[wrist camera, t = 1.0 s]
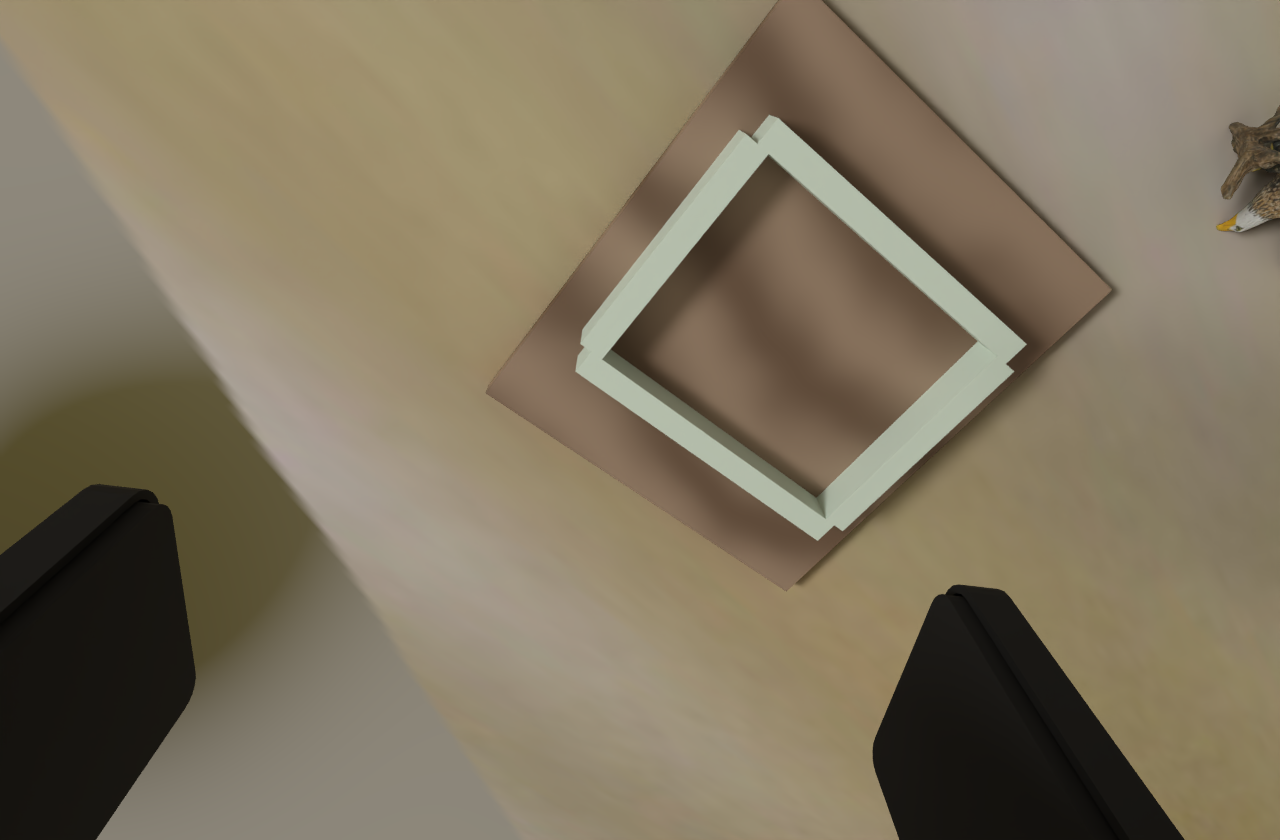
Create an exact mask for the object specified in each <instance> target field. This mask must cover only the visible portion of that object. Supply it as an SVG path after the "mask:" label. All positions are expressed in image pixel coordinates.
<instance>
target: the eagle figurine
mask: <svg viewBox="0 0 1280 840" xmlns="http://www.w3.org/2000/svg"><path fill="white" fill-rule="evenodd" d="M1279 122H1280V106H1279V107H1278V108H1277V111H1276V113H1275V115H1274V116H1273V117H1272V118H1270V119H1269V120H1267V121H1266V122H1265V123H1264V124H1263V125H1261V126H1260V127H1258V128H1256V127H1248V126H1245V125H1243V124H1242V123H1239V122H1235V123H1232V124H1230V126H1229V129H1230V131H1231V133H1232V135H1233V140H1232V146H1233V150H1234V151H1235V152H1236V153H1237V154H1238V158H1239V159H1238V160H1237V162H1236V164H1235V165H1234V167H1233V169H1232V171H1231V172H1230V174H1229V176H1228V177H1227V179H1226V181H1225V183H1224V184H1223V185H1222V187H1221V192H1222V196H1223V198H1224V199H1231V198H1232V196H1233V194H1234V192H1235V191H1236V190H1237V188H1238V187H1239V185H1240V184H1241V182H1242V180H1243V177H1244V176H1245V174H1247V173H1249V172H1254V171H1257V170H1260V169H1261V168H1262V169H1264V170H1266V171H1267V172H1277V176H1276V177H1274V178H1273V179H1272V181H1270V182H1269V183H1268V184H1267V185H1266V186H1264V188H1263V189H1262V190H1261V191H1260V192H1259V193H1258V194H1257V195H1256V196H1255V198H1254V199H1253V200H1252V201H1251V202H1250V203H1249V204H1248V205H1247V206H1246V207H1245V208H1244V209H1243V210H1241V211H1240V212H1239V213H1237V214H1236V215H1235V216H1234V217H1233V218H1231V219H1230V220H1228V221H1226V222H1224V223H1222V224H1219V225H1217V226H1216V228H1217V230H1220V231H1229V230H1233V231H1235V232H1242V231H1246V230H1248V229H1251V228H1253V227H1255V226H1257V225H1259V224H1262V223H1264V222H1266V221H1268V220H1272V219H1274V218H1280V128H1276V126H1277V125H1278V123H1279Z"/></svg>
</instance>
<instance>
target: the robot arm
mask: <svg viewBox="0 0 1280 840" xmlns="http://www.w3.org/2000/svg"><path fill="white" fill-rule="evenodd" d="M195 675H196V674H195V666H194V659H193V652H192V646H191V639H190V632H189V626H188V620H187V612H186V605H185V599H184V592H183V585H182V579H181V572H180V566H179V559H178V552H177V545H176V538H175V533H174V525H173V519H172V514H171V511H170V509H169V508H168V506H166V505H163V504H159V503H158V499H157V497H156V496H155V495H154V493H153V492H151V491H149V490H144V489H135V488H127V487H118V486H109V485H101V484H97V485H90V486H89V487H87V488H85V489H84V490H82V491H81V492H79V494H77V495H76V496H74V497H73V498H72V499H71V500H69V501H68V502H67V503H66V504H64V505H63V506H62V507H60V508H59V509H58V510H57V511H55V512H54V513H53V514H52V515H50V516H49V517H48V518H47V519H45V520H44V521H43V522H42V523H40V524H39V525H38V526H36V527H35V528H34V529H33V530H31V531H30V532H29V533H28V534H26V535H25V536H24V537H23V538H21V539H20V540H19V541H18V542H16V543H15V544H14V545H12V546H11V547H10V548H9V549H7V550H6V551H5V552H4V553H2V554H1V555H0V840H96V839H97V837H98V836H99V834H100V833H101V831H102V830H103V828H104V827H105V825H106V824H107V822H108V821H109V819H110V818H111V817H112V815H113V814H114V812H115V811H116V809H117V808H118V806H119V805H120V803H121V802H122V800H123V799H124V797H125V796H126V795H127V793H128V792H129V790H130V789H131V787H132V785H133V784H134V783H135V781H136V780H137V778H138V777H139V775H140V774H141V772H142V771H143V770H144V768H145V767H146V765H147V764H148V762H149V760H150V759H151V758H152V756H153V755H154V753H155V752H156V750H157V749H158V747H159V746H160V744H161V743H162V742H163V740H164V738H165V737H166V736H167V734H168V733H169V731H170V730H171V728H172V727H173V725H174V724H175V722H176V721H177V720H178V718H179V717H180V715H181V713H182V712H183V711H184V709H185V708H186V706H187V704H188V702H189V700H190V698H191V696H192V693H193V690H194V686H195V679H196V676H195ZM873 764H874V768H875V772H876V775H877V778H878V780H879V783H880V786H881V789H882V792H883V795H884V797H885V800H886V803H887V806H888V809H889V812H890V814H891V817H892V820H893V823H894V826H895V829H896V831H897V834H898V837H899V840H1184V838H1183V837H1182V835H1181V834H1180V833H1179V831H1178V830H1177V829H1176V827H1175V826H1174V824H1173V823H1172V822H1171V820H1170V819H1169V817H1168V816H1167V815H1166V813H1165V812H1164V810H1163V809H1162V808H1161V806H1160V805H1159V804H1158V802H1157V801H1156V799H1155V798H1154V797H1153V795H1152V794H1151V792H1150V791H1149V790H1148V788H1147V787H1146V785H1145V784H1144V783H1143V781H1142V780H1141V779H1140V777H1139V776H1138V774H1137V773H1136V772H1135V770H1134V769H1133V767H1132V766H1131V765H1130V763H1129V762H1128V761H1127V759H1126V758H1125V756H1124V755H1123V754H1122V752H1121V751H1120V749H1119V748H1118V747H1117V745H1116V744H1115V742H1114V741H1113V740H1112V738H1111V737H1110V736H1109V734H1108V733H1107V731H1106V730H1105V729H1104V727H1103V726H1102V724H1101V723H1100V722H1099V720H1098V719H1097V717H1096V716H1095V715H1094V713H1093V712H1092V711H1091V709H1090V708H1089V706H1088V705H1087V704H1086V702H1085V701H1084V699H1083V698H1082V697H1081V695H1080V694H1079V692H1078V691H1077V690H1076V688H1075V687H1074V686H1073V684H1072V683H1071V681H1070V680H1069V679H1068V677H1067V676H1066V674H1065V673H1064V672H1063V670H1062V669H1061V667H1060V666H1059V665H1058V663H1057V662H1056V661H1055V659H1054V658H1053V656H1052V655H1051V654H1050V652H1049V651H1048V649H1047V648H1046V647H1045V645H1044V644H1043V643H1042V641H1041V640H1040V638H1039V637H1038V636H1037V634H1036V633H1035V631H1034V630H1033V629H1032V627H1031V626H1030V624H1029V623H1028V622H1027V620H1026V619H1025V618H1024V616H1023V615H1022V613H1021V612H1020V611H1019V609H1018V608H1017V606H1016V605H1015V604H1014V602H1013V601H1012V599H1011V598H1010V597H1009V596H1008V595H1007V594H1006V593H1005V592H1004V591H1002V590H999V589H993V588H984V587H976V586H967V585H953V586H952V587H951V588H950V589H948V591H947V592H946V594H941V595H938V596H937V597H935V599H934V600H933V602H932V604H931V606H930V609H929V611H928V613H927V616H926V618H925V621H924V623H923V625H922V628H921V630H920V632H919V635H918V637H917V640H916V642H915V644H914V647H913V649H912V651H911V654H910V656H909V659H908V661H907V663H906V666H905V668H904V670H903V673H902V675H901V678H900V680H899V682H898V685H897V687H896V689H895V692H894V694H893V697H892V699H891V701H890V704H889V706H888V708H887V711H886V713H885V716H884V718H883V720H882V723H881V725H880V727H879V730H878V732H877V735H876V737H875V740H874V743H873Z"/></svg>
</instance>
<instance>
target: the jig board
mask: <svg viewBox="0 0 1280 840" xmlns="http://www.w3.org/2000/svg"><path fill="white" fill-rule="evenodd" d="M1110 291H1112V289H1111V288H1110V287H1109V286H1108V285H1107V284H1106V283H1105V282H1104V281H1103V280H1102V279H1101V278H1100V277H1099V276H1098V275H1097V274H1096V273H1095V272H1094V271H1093V270H1092V269H1091V268H1090V267H1089V266H1088V265H1087V264H1086V263H1085V262H1084V261H1083V260H1082V259H1081V258H1080V257H1079V256H1078V255H1077V254H1076V253H1075V252H1074V251H1073V250H1072V249H1071V248H1070V247H1069V246H1068V245H1067V244H1066V243H1065V242H1064V241H1063V240H1062V239H1061V238H1060V237H1059V236H1058V235H1057V234H1056V233H1055V232H1054V231H1053V230H1052V229H1051V228H1050V227H1049V226H1048V225H1047V224H1046V223H1045V222H1044V221H1043V220H1042V219H1041V218H1040V217H1039V216H1038V215H1037V214H1036V213H1035V212H1034V211H1033V210H1032V209H1031V208H1030V207H1029V206H1028V205H1027V204H1026V203H1025V202H1024V201H1023V200H1022V199H1021V198H1020V197H1019V196H1018V195H1017V194H1016V193H1015V192H1014V191H1013V190H1012V189H1011V188H1010V187H1008V186H1007V185H1006V184H1005V183H1004V182H1003V181H1002V180H1001V179H1000V178H999V177H998V176H997V175H996V174H995V173H994V172H993V171H992V170H991V169H990V168H989V167H988V166H987V165H986V164H985V163H984V162H983V161H982V160H981V159H980V158H979V157H978V156H977V155H976V154H975V153H974V152H973V151H972V150H971V149H970V148H969V147H968V146H967V145H966V144H965V143H964V142H963V141H962V140H961V139H960V138H959V137H958V136H957V135H956V134H955V133H954V132H953V131H952V130H951V129H950V128H949V127H948V126H947V125H946V124H945V123H944V122H943V121H942V120H941V119H940V118H939V117H938V116H937V115H936V114H935V113H934V112H933V111H932V110H931V109H930V108H929V107H928V106H927V105H926V104H925V103H924V102H923V101H922V100H921V99H920V98H919V97H918V96H917V95H916V94H915V93H914V92H913V91H912V90H911V89H910V88H909V87H908V86H907V85H906V84H905V83H904V82H903V81H902V80H901V79H900V78H899V77H898V76H897V75H896V74H895V73H894V72H893V71H892V70H891V69H890V68H889V67H888V66H887V65H886V64H885V63H884V62H883V61H882V60H881V59H880V58H879V57H878V56H877V55H876V54H875V53H874V52H873V51H872V50H871V49H870V48H869V47H868V46H867V45H866V44H865V43H864V42H863V41H862V40H861V39H860V38H859V37H858V36H857V35H856V34H855V33H854V32H853V31H852V30H851V29H850V28H849V27H848V26H847V25H846V24H845V23H844V22H843V21H842V20H841V19H840V18H839V17H838V16H837V15H836V14H835V13H834V12H833V11H832V10H831V9H830V8H829V7H828V6H827V5H826V4H825V3H824V2H823V1H822V0H778V1H777V3H776V4H775V5H774V7H773V8H772V9H771V11H770V12H769V13H768V15H767V16H766V17H765V19H764V20H763V21H762V23H761V24H760V25H759V27H758V28H757V29H756V31H755V32H754V33H753V35H752V36H751V37H750V39H749V40H748V41H747V43H746V44H745V45H744V47H743V48H742V49H741V51H740V52H739V53H738V55H737V56H736V57H735V59H734V60H733V61H732V63H731V64H730V65H729V67H728V68H727V69H726V71H725V72H724V73H723V75H722V76H721V77H720V78H719V80H718V81H717V82H716V84H715V85H714V86H713V88H712V89H711V90H710V92H709V93H708V94H707V96H706V97H705V98H704V100H703V101H702V102H701V104H700V105H699V106H698V108H697V109H696V110H695V112H694V113H693V114H692V116H691V117H690V118H689V120H688V121H687V122H686V124H685V125H684V126H683V128H682V129H681V130H680V132H679V133H678V134H677V136H676V137H675V138H674V140H673V141H672V142H671V144H670V145H669V146H668V148H667V149H666V150H665V152H664V153H663V154H662V156H661V157H660V158H659V160H658V161H657V162H656V164H655V165H654V166H653V167H652V169H651V170H650V171H649V173H648V174H647V175H646V177H645V178H644V179H643V181H642V182H641V183H640V185H639V186H638V187H637V189H636V190H635V191H634V193H633V194H632V195H631V197H630V198H629V199H628V201H627V202H626V203H625V205H624V206H623V207H622V209H621V210H620V211H619V213H618V214H617V215H616V217H615V218H614V219H613V221H612V222H611V223H610V225H609V226H608V227H607V229H606V230H605V231H604V233H603V234H602V235H601V237H600V238H599V239H598V241H597V242H596V243H595V245H594V246H593V247H592V249H591V250H590V251H589V253H588V254H587V255H586V256H585V258H584V259H583V260H582V262H581V263H580V264H579V266H578V267H577V268H576V270H575V271H574V272H573V274H572V275H571V276H570V278H569V279H568V280H567V282H566V283H565V284H564V286H563V287H562V288H561V290H560V291H559V292H558V294H557V295H556V296H555V298H554V299H553V300H552V302H551V303H550V304H549V306H548V307H547V308H546V310H545V311H544V312H543V314H542V315H541V316H540V318H539V319H538V320H537V322H536V323H535V324H534V326H533V327H532V328H531V330H530V331H529V332H528V334H527V335H526V336H525V338H524V339H523V340H522V342H521V343H520V344H519V345H518V347H517V348H516V349H515V351H514V352H513V353H512V355H511V356H510V357H509V359H508V360H507V361H506V363H505V364H504V365H503V367H502V368H501V369H500V371H499V372H498V373H497V375H496V376H495V377H494V379H493V380H492V381H491V383H490V384H489V386H488V388H487V390H486V394H488V395H489V396H491V397H492V398H494V399H495V400H497V401H498V402H500V403H501V404H503V405H504V406H506V407H507V408H509V409H510V410H512V411H513V412H515V413H516V414H518V415H520V416H521V417H523V418H524V419H526V420H527V421H529V422H530V423H532V424H533V425H535V426H536V427H538V428H539V429H541V430H542V431H544V432H545V433H547V434H548V435H550V436H551V437H553V438H554V439H556V440H557V441H559V442H560V443H562V444H563V445H565V446H567V447H568V448H570V449H571V450H573V451H574V452H576V453H577V454H579V455H580V456H582V457H583V458H585V459H586V460H588V461H589V462H591V463H592V464H594V465H595V466H597V467H598V468H600V469H601V470H603V471H604V472H606V473H607V474H609V475H610V476H612V477H613V478H615V479H617V480H618V481H620V482H621V483H623V484H624V485H626V486H627V487H629V488H630V489H632V490H633V491H635V492H636V493H638V494H639V495H641V496H642V497H644V498H645V499H647V500H648V501H650V502H651V503H653V504H654V505H656V506H657V507H659V508H660V509H662V510H664V511H665V512H667V513H668V514H670V515H671V516H673V517H674V518H676V519H677V520H679V521H680V522H682V523H683V524H685V525H686V526H688V527H689V528H691V529H692V530H694V531H695V532H697V533H698V534H700V535H701V536H703V537H704V538H706V539H707V540H709V541H711V542H712V543H714V544H715V545H717V546H718V547H720V548H721V549H723V550H724V551H726V552H727V553H729V554H730V555H732V556H733V557H735V558H736V559H738V560H739V561H741V562H742V563H744V564H745V565H747V566H748V567H750V568H751V569H753V570H754V571H756V572H757V573H759V574H761V575H762V576H764V577H765V578H767V579H768V580H770V581H771V582H773V583H774V584H776V585H777V586H779V587H780V588H782V589H783V590H785V591H787V590H788V589H790V588H791V587H792V586H793V585H794V584H795V583H796V582H797V581H798V580H799V579H800V578H801V577H802V576H804V575H805V574H806V573H807V572H808V571H809V570H810V569H811V568H812V567H813V566H814V565H815V564H817V563H818V562H819V561H820V560H821V559H822V558H823V557H824V556H825V555H826V554H827V553H828V552H830V551H831V550H832V549H833V548H834V547H835V546H836V545H837V544H838V543H839V542H840V541H841V540H842V539H844V538H845V537H846V536H847V535H848V534H849V533H850V532H851V531H852V530H853V529H854V528H855V527H857V526H858V525H859V524H860V523H861V522H862V521H863V520H864V519H865V518H866V517H867V516H868V515H869V514H871V513H872V512H873V511H874V510H875V509H876V508H877V507H878V506H879V505H880V504H881V503H882V502H884V501H885V500H886V499H887V498H888V497H889V496H890V495H891V494H892V493H893V492H894V491H895V490H897V489H898V488H899V487H900V486H901V485H902V484H903V483H904V482H905V481H906V480H907V479H908V478H909V477H911V476H912V475H913V474H914V473H915V472H916V471H917V470H918V469H919V468H920V467H921V466H922V465H924V464H925V463H926V462H927V461H928V460H929V459H930V458H931V457H932V456H933V455H934V454H935V453H936V452H938V451H939V450H940V449H941V448H942V447H943V446H944V445H945V444H946V443H947V442H948V441H949V440H951V439H952V438H953V437H954V436H955V435H956V434H957V433H958V432H959V431H960V430H961V429H962V428H963V427H965V426H966V425H967V424H968V423H969V422H970V421H971V420H972V419H973V418H974V417H975V416H976V415H978V414H979V413H980V412H981V411H982V410H983V409H984V408H985V407H986V406H987V405H988V404H989V403H991V402H992V401H993V400H994V399H995V398H996V397H997V396H998V395H999V394H1000V393H1001V392H1002V391H1003V390H1005V389H1006V388H1007V387H1008V386H1009V385H1010V384H1011V383H1012V382H1013V381H1014V380H1015V379H1016V378H1018V377H1019V376H1020V375H1021V374H1022V373H1023V372H1024V371H1025V370H1026V369H1027V368H1028V367H1029V366H1030V365H1032V364H1033V363H1034V362H1035V361H1036V360H1037V359H1038V358H1039V357H1040V356H1041V355H1042V354H1043V353H1045V352H1046V351H1047V350H1048V349H1049V348H1050V347H1051V346H1052V345H1053V344H1054V343H1055V342H1056V341H1058V340H1059V339H1060V338H1061V337H1062V336H1063V335H1064V334H1065V333H1066V332H1067V331H1068V330H1069V329H1070V328H1072V327H1073V326H1074V325H1075V324H1076V323H1077V322H1078V321H1079V320H1080V319H1081V318H1082V317H1083V316H1085V315H1086V314H1087V313H1088V312H1089V311H1090V310H1091V309H1092V308H1093V307H1094V306H1095V305H1096V304H1097V303H1099V302H1100V301H1101V300H1102V299H1103V298H1104V297H1105V296H1106V295H1107V294H1108V293H1109V292H1110Z"/></svg>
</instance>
